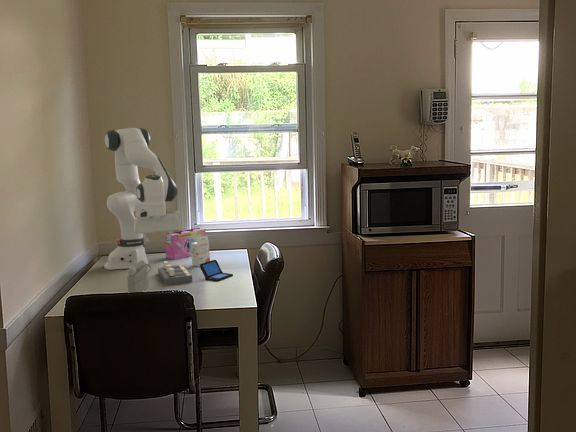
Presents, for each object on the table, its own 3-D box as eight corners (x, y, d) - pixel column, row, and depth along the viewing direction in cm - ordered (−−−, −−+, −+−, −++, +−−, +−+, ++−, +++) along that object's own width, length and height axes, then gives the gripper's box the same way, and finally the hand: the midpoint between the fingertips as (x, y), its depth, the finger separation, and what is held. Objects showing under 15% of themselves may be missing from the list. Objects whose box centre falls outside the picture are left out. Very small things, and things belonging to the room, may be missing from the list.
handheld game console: (217, 282, 271) (216, 266, 270) (199, 280, 277) (198, 264, 276) (234, 276, 282) (233, 260, 281) (216, 274, 287) (215, 259, 286)
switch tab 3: (170, 276, 271) (169, 269, 271) (169, 274, 274) (168, 268, 274) (174, 275, 272) (174, 269, 272) (173, 274, 275) (173, 267, 274)
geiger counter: (137, 258, 261) (119, 272, 237) (151, 258, 261) (135, 271, 237) (140, 289, 264) (122, 306, 239) (154, 288, 263) (138, 305, 239)
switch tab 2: (167, 272, 279) (166, 266, 278) (166, 271, 282) (165, 264, 281) (171, 271, 279) (171, 265, 279) (170, 270, 282) (170, 264, 282)
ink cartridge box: (203, 262, 313) (202, 234, 311) (210, 263, 310) (208, 235, 308) (191, 265, 306) (190, 237, 304) (198, 266, 303) (196, 238, 301)
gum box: (201, 250, 343) (199, 227, 341) (209, 252, 338) (208, 228, 336) (165, 257, 327) (164, 233, 325) (173, 259, 321) (172, 235, 319)
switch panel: (166, 285, 269) (165, 278, 268) (158, 273, 291) (157, 267, 290) (192, 281, 273) (191, 275, 272) (182, 270, 295) (182, 264, 295)
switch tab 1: (164, 268, 286) (164, 262, 286) (163, 267, 289) (163, 261, 289) (168, 268, 287) (168, 262, 286) (167, 267, 290) (167, 261, 289)
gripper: (177, 208, 273) (179, 238, 275) (132, 212, 266) (134, 242, 268) (180, 210, 268) (182, 240, 270) (133, 214, 260) (136, 245, 262)
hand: (158, 241), depth 269 cm, fingers open, 8 cm apart
